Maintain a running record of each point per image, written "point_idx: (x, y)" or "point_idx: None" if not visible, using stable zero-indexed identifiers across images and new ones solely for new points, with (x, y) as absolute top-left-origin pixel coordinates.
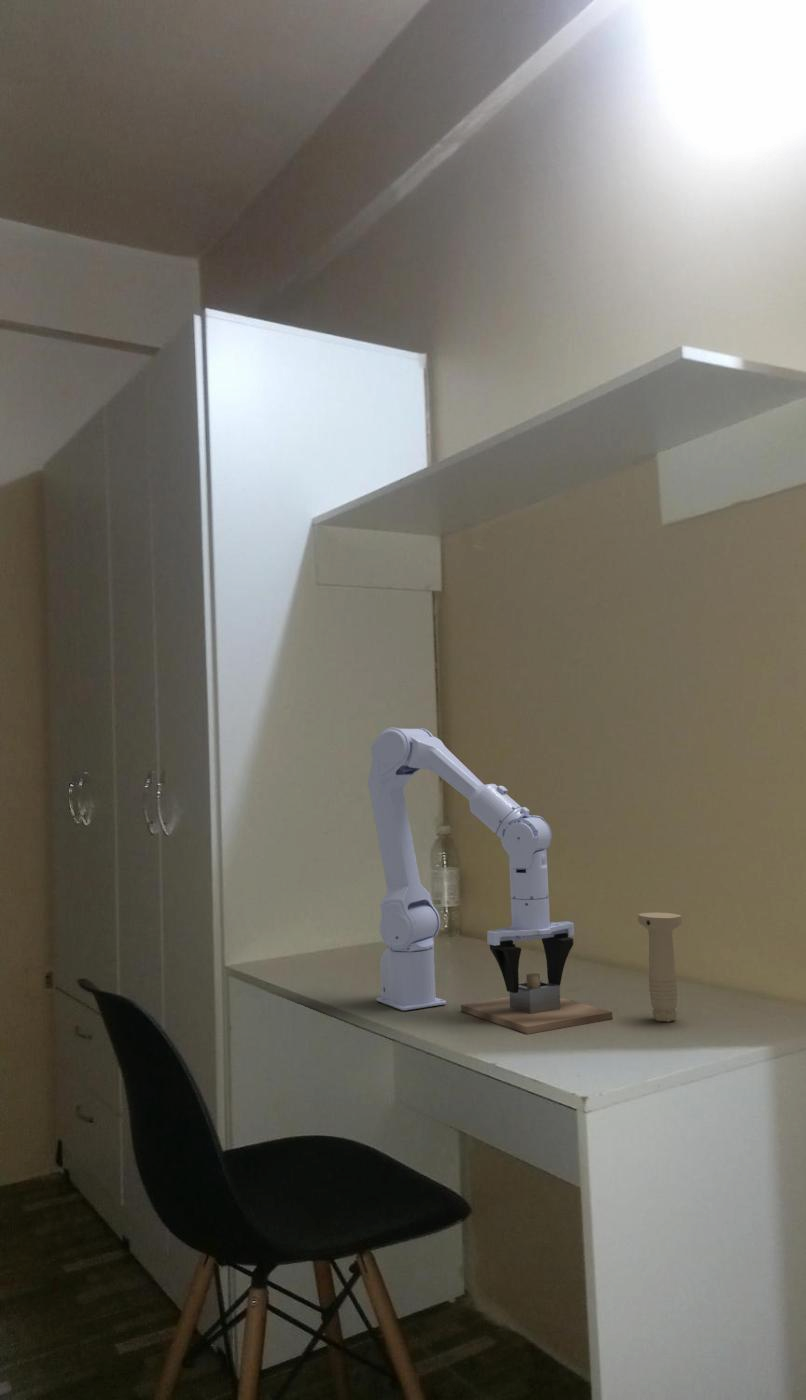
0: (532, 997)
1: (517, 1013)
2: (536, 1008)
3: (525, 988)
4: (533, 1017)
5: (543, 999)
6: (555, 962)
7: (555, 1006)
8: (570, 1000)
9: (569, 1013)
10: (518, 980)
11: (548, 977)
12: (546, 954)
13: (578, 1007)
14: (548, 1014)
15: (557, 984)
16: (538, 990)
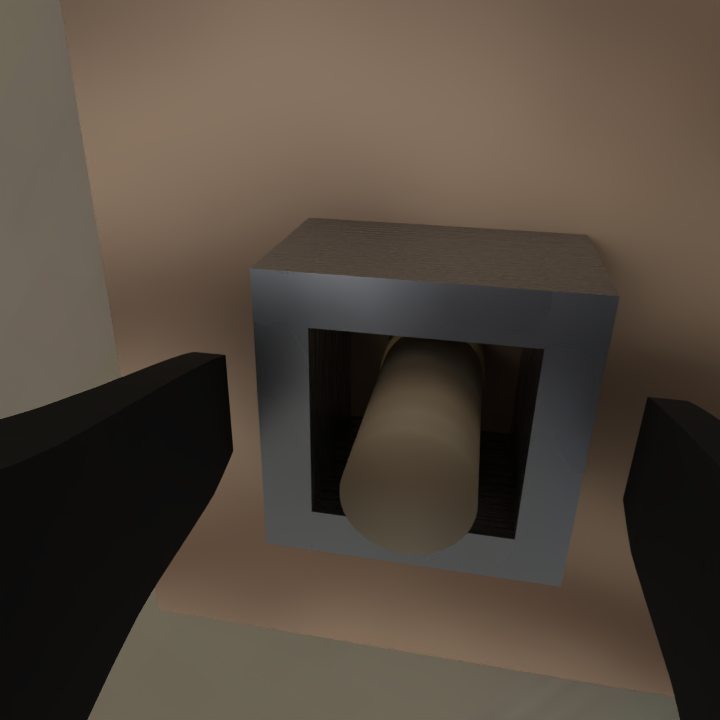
0: (574, 269)
1: (644, 312)
2: (528, 240)
3: (598, 370)
4: (661, 119)
5: (451, 252)
6: (111, 486)
7: (347, 226)
8: (124, 364)
9: (345, 40)
10: (691, 437)
11: (213, 484)
12: (100, 670)
13: (180, 168)
14: (495, 126)
15: (212, 358)
16: (501, 282)
